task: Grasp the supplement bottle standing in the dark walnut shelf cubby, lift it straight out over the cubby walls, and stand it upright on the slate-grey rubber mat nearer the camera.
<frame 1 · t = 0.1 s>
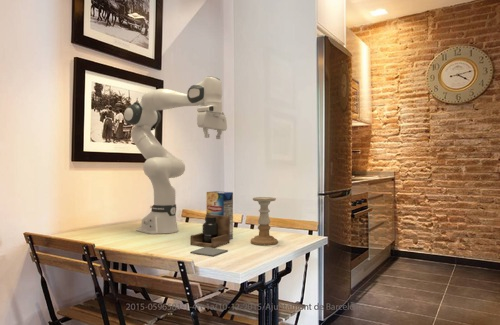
hand: (212, 138, 176), 48 cm above the table, fingers open, 8 cm apart
walnut cubby: (210, 244, 160), on the table
slate mat: (209, 252, 144), on the table
supplement bottle: (210, 244, 160), resting in walnut cubby
candle holder: (264, 243, 163), on the table
beverage box: (219, 238, 173), on the table
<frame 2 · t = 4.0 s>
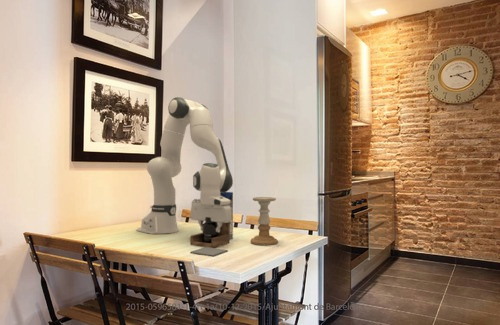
hand: (210, 231, 160), 6 cm above the table, fingers closed on supplement bottle, 7 cm apart
supplement bottle: (210, 244, 160), resting in walnut cubby, touching gripper
everything else where it was.
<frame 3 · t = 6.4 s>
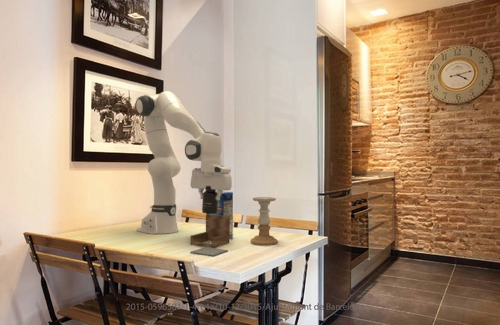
hand: (210, 199, 160), 20 cm above the table, fingers closed on supplement bottle, 6 cm apart
supplement bottle: (209, 213, 160), point 13 cm above the table, touching gripper
everything else where it was.
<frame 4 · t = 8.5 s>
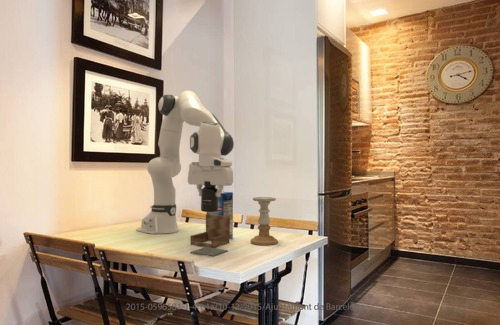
hand: (209, 196, 144), 22 cm above the table, fingers closed on supplement bottle, 6 cm apart
supplement bottle: (209, 211, 144), point 16 cm above the table, touching gripper
everything else where it was.
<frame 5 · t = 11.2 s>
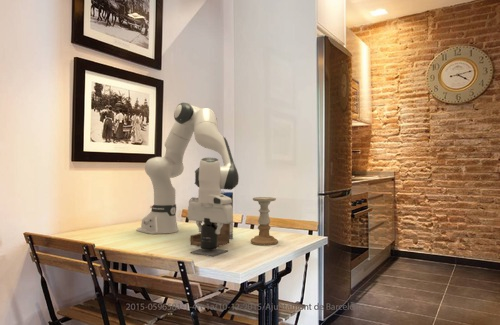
hand: (209, 233, 144), 8 cm above the table, fingers closed on supplement bottle, 6 cm apart
supplement bottle: (209, 248, 144), point 2 cm above the table, touching gripper
everything else where it was.
when the fingers open (8 cm above the table, at t = 12.0 s): supplement bottle moves 2 cm, resting on slate mat.
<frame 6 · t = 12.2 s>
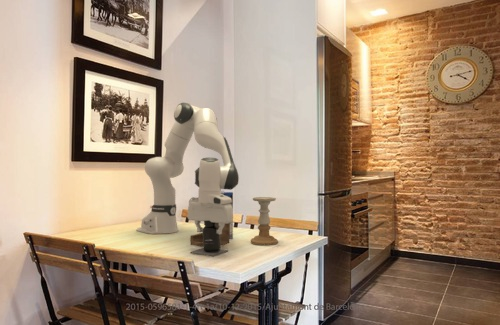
hand: (209, 233, 144), 8 cm above the table, fingers open, 8 cm apart
supplement bottle: (212, 250, 144), point 1 cm above the table, touching gripper, slate mat
everything else where it was.
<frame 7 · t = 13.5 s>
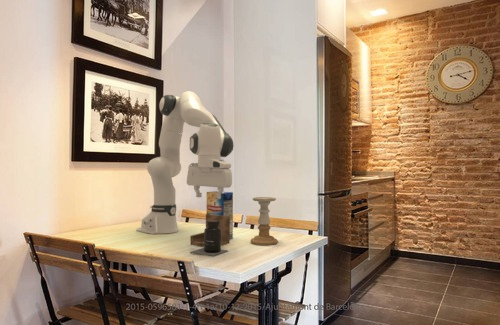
hand: (208, 198, 144), 22 cm above the table, fingers open, 8 cm apart
supplement bottle: (212, 251, 144), resting on slate mat
everything else where it was.
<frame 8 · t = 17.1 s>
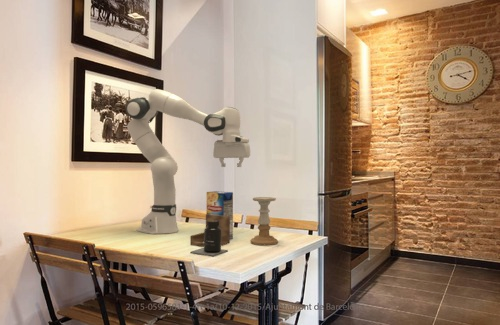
hand: (231, 166, 182), 34 cm above the table, fingers open, 8 cm apart
nothing on the table moved.
at the end: supplement bottle inside the target area on the slate mat (1.5 cm from its centre), point 0.4 cm above the slate mat's base; supplement bottle tilted 0°; the gripper is holding nothing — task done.
